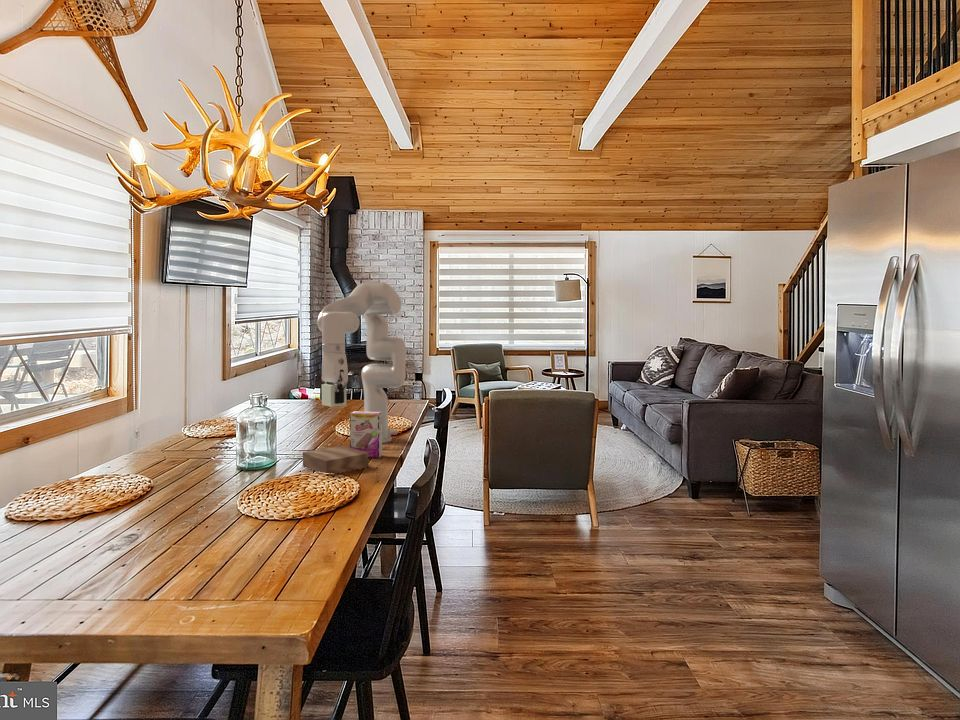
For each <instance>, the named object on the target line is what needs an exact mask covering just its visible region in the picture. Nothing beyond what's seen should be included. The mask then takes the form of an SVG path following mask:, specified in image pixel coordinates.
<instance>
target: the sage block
mask: <svg viewBox="0 0 960 720" xmlns="http://www.w3.org/2000/svg"><path fill="white" fill-rule="evenodd" d="M339 385H340V384H339ZM339 385H338V387H339ZM335 392H336V388H335V384H334V383H331V384H330V383H329V384H323V383H322V384H321V406H324V407H330V408H334V407H342V406H343V407H344V406H347V403H348V402H347V386H346V387H345V391H344V403H339V404H336V403H335Z"/></svg>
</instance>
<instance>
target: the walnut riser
mask: <svg viewBox="0 0 960 720" xmlns="http://www.w3.org/2000/svg"><path fill="white" fill-rule="evenodd" d="M303 466H304V467H303ZM302 467H303V468H305V467H307V468H310V469H313V470H315V471H320V472H325V473H336V474H335V475H339V474H343V473H342V472H344V473H347V472H346V471H349V472H352V471H351V470H354V471H357V470H356V469H359V470H363V469H362V468H364V469H367V467H368V468H369V458H368V453H366V452H363V451H360V450H357V449H353V448H350V446H347V445H345V444H344V445H338V446H332V447H327V448H320V449H314V450H309V451H308V450H307V451H303V452H302ZM307 468H306V469H307ZM310 469H309V470H310ZM315 471H314V472H315ZM338 473H339V474H338Z"/></svg>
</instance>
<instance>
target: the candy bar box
mask: <svg viewBox="0 0 960 720" xmlns="http://www.w3.org/2000/svg"><path fill="white" fill-rule="evenodd" d="M349 447H350V448H353V449H357V450H360V451H363V452H366V453H368V457H369V458H371V459H372V458H375V459H379V458H381V457H382V456H383V443H382V412H365V411H364V410H363V411H362V410H361V411H360V410H357V411H356V410H353V411H352V412H350V413H349ZM369 458H368V459H369Z"/></svg>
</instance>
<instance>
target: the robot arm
mask: <svg viewBox="0 0 960 720" xmlns="http://www.w3.org/2000/svg"><path fill="white" fill-rule="evenodd" d="M401 308H402V299H401V297H400V294H399V293H397V291H396V290H395V289H394V288H393V287H392V286H391V285H390V284H388V283H387V282H362V283H358V284H357V285H356V287H355V288H354V289H353V290H352V291H351V292H350V293H349V295H348V296H346V297H344V298H340V299H338V300H335V301H333V302H330V303H329V304H327V305H326V306H324V307H323V309H322V310H321V311H320V312H319V314H318V316H317V320H316V325H317V328H318V331H320V332H321V348H322V349H321V351H322V352H321V353H322V360H321V376H320V378H321V379H320V380H321V382H322V384H331V383H334V384H335V388H336V392H335V403H336V404H339V403H344V391H345V387H346V388H347V385H348V381H349V370H348V361H347V355H346V334H353V333H355V332H356V331H357V330H359V327H360V318H359V317H362V316H363V319H364V320H365V323H366V328H367V329H366V348H365V349H366V351H365V352H366V356H367V358H368V359H369V360H372V361H387V362H388V361H389V362H390V361H392V363H369V364H366V365H364V366H363V367H362V369H361V372H360V373H361V375H360V376H361V382H362V387H363V408H364V409H363V411H365V412H382V444H387V443H389V442H392V440H393V437H392V435H397V434H398V432H399V430H398V428H396V429H395V428H394V429H391V428H389V416H388V415H389V408H388V407H389V400H388V399H389V398H388V395H387V393H386V391H385V390H384V388H390V389H391V388H393V389H394V388H397V389H398V388H401V387H402V386H404V384H405V381H406V380H405V379H406V358H407V348H406V342H405V340H403V339H402V338H401V337H398V336H397V337H395V336H394V337H392V336H391V337H390V336H389V324H388V322H387V321H386V319H385V318H384V316H383V315H397V314H398V313H400V311H401ZM339 384H340V385H339ZM338 385H339V387H338Z"/></svg>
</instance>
